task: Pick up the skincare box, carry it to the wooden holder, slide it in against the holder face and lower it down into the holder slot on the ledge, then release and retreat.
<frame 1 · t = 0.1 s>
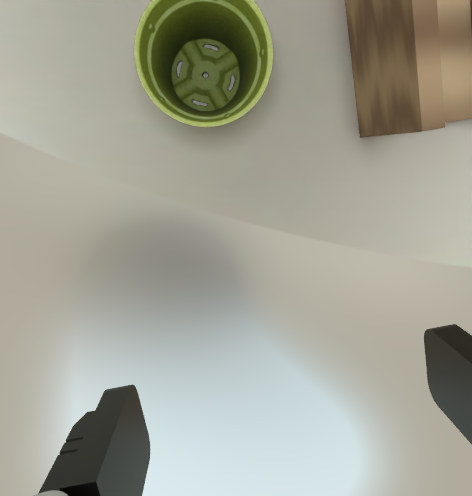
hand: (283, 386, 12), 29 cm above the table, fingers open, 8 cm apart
plant pot: (206, 76, 38), on the table
wooden holder: (375, 45, 37), on the table
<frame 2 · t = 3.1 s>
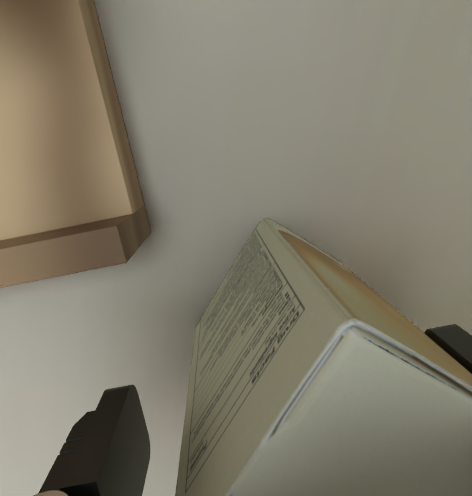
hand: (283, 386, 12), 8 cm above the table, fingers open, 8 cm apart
skincare box: (268, 292, 19), on the table, touching gripper
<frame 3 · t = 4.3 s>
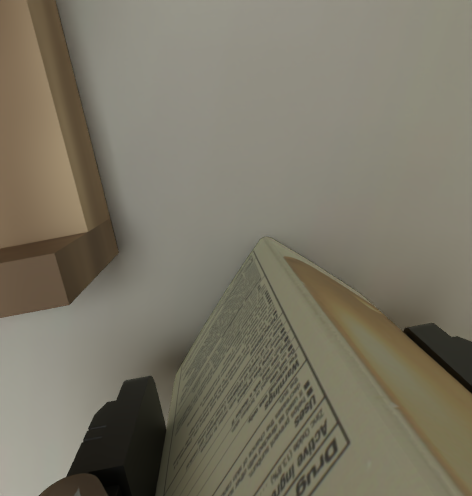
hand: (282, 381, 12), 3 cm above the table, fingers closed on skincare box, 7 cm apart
skincare box: (268, 329, 15), on the table, touching gripper
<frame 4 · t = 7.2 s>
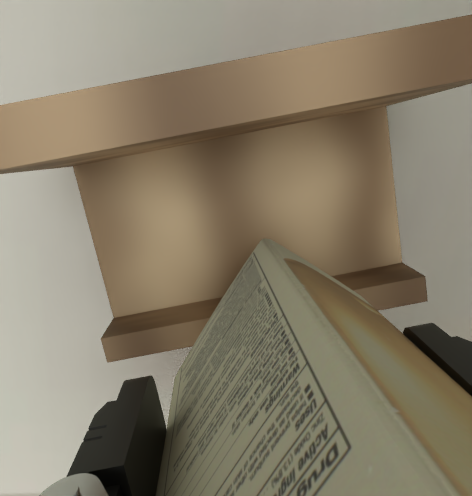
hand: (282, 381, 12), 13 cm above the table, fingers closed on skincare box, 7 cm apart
skincare box: (268, 330, 15), point 9 cm above the table, touching gripper
wooden holder: (230, 152, 23), on the table
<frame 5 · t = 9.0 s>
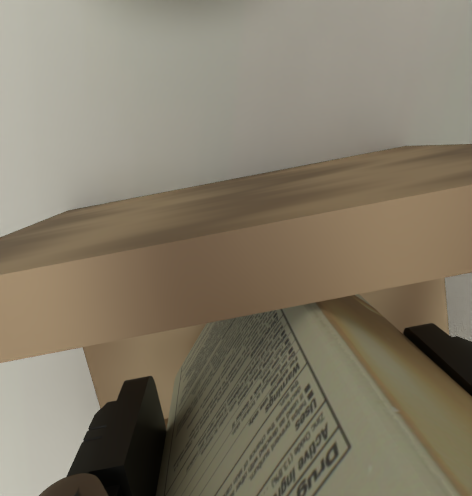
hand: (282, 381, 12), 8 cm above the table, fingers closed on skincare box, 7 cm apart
skincare box: (268, 330, 15), point 5 cm above the table, touching gripper
wooden holder: (246, 228, 19), on the table
when the fingers open (7 cm above the table, at t = 10.3 s): skincare box stays where it is, resting on wooden holder.
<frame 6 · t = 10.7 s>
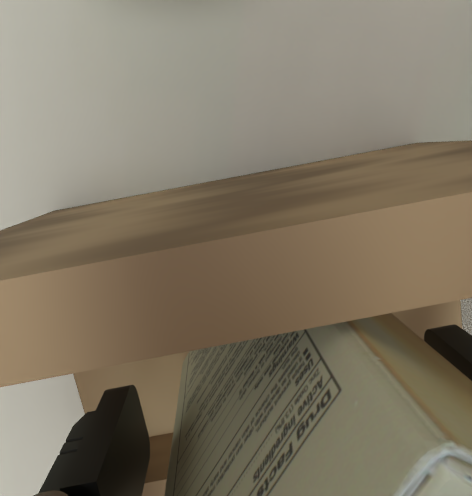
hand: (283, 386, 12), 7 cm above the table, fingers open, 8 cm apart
skincare box: (270, 318, 16), point 2 cm above the table, touching wooden holder
wooden holder: (245, 230, 18), on the table
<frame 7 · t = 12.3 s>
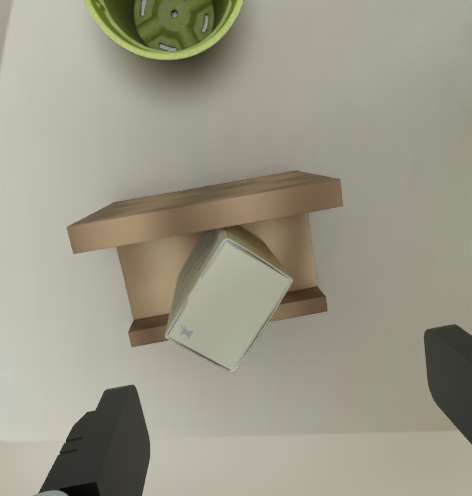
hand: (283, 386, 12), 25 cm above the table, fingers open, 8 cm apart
skincare box: (220, 255, 34), point 2 cm above the table, touching wooden holder
plant pot: (174, 18, 32), on the table
wooden holder: (210, 213, 35), on the table
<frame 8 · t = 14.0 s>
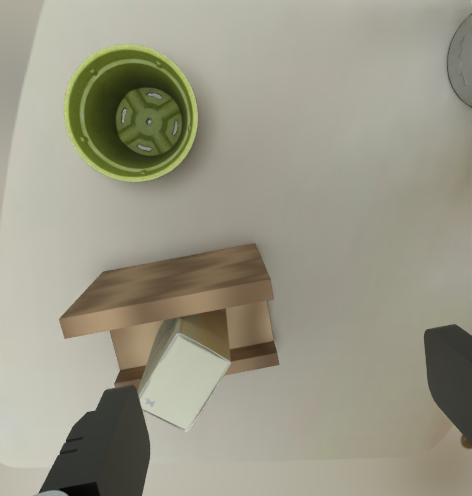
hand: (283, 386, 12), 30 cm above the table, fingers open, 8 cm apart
skincare box: (191, 316, 41), point 2 cm above the table, touching wooden holder
plant pot: (149, 123, 39), on the table
wooden holder: (183, 279, 42), on the table
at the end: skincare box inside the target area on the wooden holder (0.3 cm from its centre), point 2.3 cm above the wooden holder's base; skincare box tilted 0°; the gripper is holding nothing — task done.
